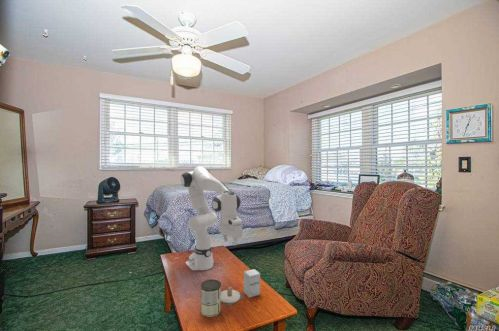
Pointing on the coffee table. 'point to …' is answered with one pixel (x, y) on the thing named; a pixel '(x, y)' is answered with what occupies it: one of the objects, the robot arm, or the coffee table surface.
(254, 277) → the supplement box
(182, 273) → the coffee table surface
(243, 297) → the mat
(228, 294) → the lid
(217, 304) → the coffee can
